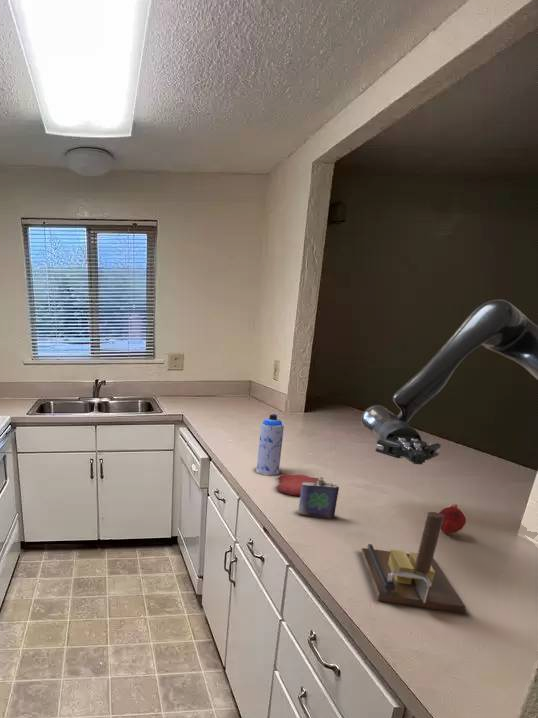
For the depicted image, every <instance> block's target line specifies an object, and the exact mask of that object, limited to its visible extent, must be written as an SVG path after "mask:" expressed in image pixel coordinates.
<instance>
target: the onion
mask: <svg viewBox="0 0 538 718" xmlns="http://www.w3.org/2000/svg"><path fill="white" fill-rule="evenodd" d="M458 506H459V505H458V504H457V503H452V504H451V506H447V507H445V508H443V509H441V510H440V511H439V512H438V513H440V514H442V515H443V516H444V518H443V522H442V525H441V529H440V531H442V532H443V533H444V534H446V535H450V534H454V533H457V532H461V530H462V529H464V527H465V525H466V522H467V518H466V516H465V513H464V512H463V511H462V510H461V509H460V508H459V507H458Z"/></svg>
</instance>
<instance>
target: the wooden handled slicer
mask: <svg viewBox="0 0 538 718" xmlns="http://www.w3.org/2000/svg"><path fill="white" fill-rule="evenodd" d="M443 518H444V516H443V515H442V514H440V513H439V512H436V511H429V512H427V515H426V519H425V523H424V527H423V531H422V535H421V538H420V543H419V548H418V550H417V551H418V552H417V553H418V555H417V559H416V563H415V567H414V569H415V570H416V571H418V572H419V574H414V573H407V572H399V571H391V573H389V574H388V578H383V580H382V583H383V585H384V588H385V589H388V590H395V584H394V582H393V580H392V578H393V575H394V576H401V577H409V578H416V579H417V583H416V587H415V588H416V590H417V592H418V593H419V595H420V597H421V599H422V601H423V603H425V602H426V598H427V594H428V590H429V587H430V586H431V585H432V583H431V582H430V580H429V578H428V576H427V575H426V573H429V571H430V568H431V564H432V560H433V558H434V555H435V552H436V548H437V544H438V541H439V537H440V533H441V525H442V522H443Z"/></svg>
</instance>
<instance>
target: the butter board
mask: <svg viewBox="0 0 538 718" xmlns="http://www.w3.org/2000/svg"><path fill="white" fill-rule="evenodd" d="M360 555H361V557H362V560H363V563H364V566H365V568H366V571H367V575H368V577H369V579H370V582H371V586H372V588H373V590H374V594H375V596H376V599H377V601H381V602H386V603H387V602H388V603H393V604H400V605H406V606H414V607H420V608H426V609H433V610H440V611H446V612H453V613H459V614H464V612H465V609H466V605H465V604H464V603H463V601H462V599H461V598H460V596H459V595H458V593H457V592H456V590H455V588H454V587H453V585H452V584H451V583H450V581H449V579H448V578H447V577H446V575H445V573H444V572H443V570H442V569H441V567H440V566H439V564H438V562H437V561H436V560H435V558H434V557H433V560H432V564H431V568H430V571H429V573H426V575H427V576H428V578H429V580H430V582H431V583H432V585H431V586H430V587H429V590H428V594H427V598H426V602H425V603H423V601H422V599H421V597H420V595H419V593H418V592H417V590H416V588H415V587H416V583H417V579H416V578H409V577H401V576H394V575H393V578H392V580H393V582H394V584H395V590H388V589H385V588H384V585H383V583H382V580H383V578H388V574H389V573H391V571H399V572H407V573H414V574H419V572H418V571H416V570H415V569H414V567H415V563H416V559H417V555H418V552H413V551H409V553H406V552H405V550H398V549H397V550H396V549H390V551H389V550H382V549H375V548H374V546H373V544H372V543H368V544H367V548H366V547H362V548H361V551H360Z"/></svg>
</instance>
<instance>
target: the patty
mask: <svg viewBox="0 0 538 718" xmlns="http://www.w3.org/2000/svg"><path fill="white" fill-rule="evenodd" d="M318 479H319V477H314V476H309V475H305V474H291V473H283V474H279V475H278V480H279V481H278V483H279V484H277V486H276V489H277V491H278V492H280V493H282V494H285V495H288V496H295V497H300V496H301V488H302V484H303V483H317V481H318Z"/></svg>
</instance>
